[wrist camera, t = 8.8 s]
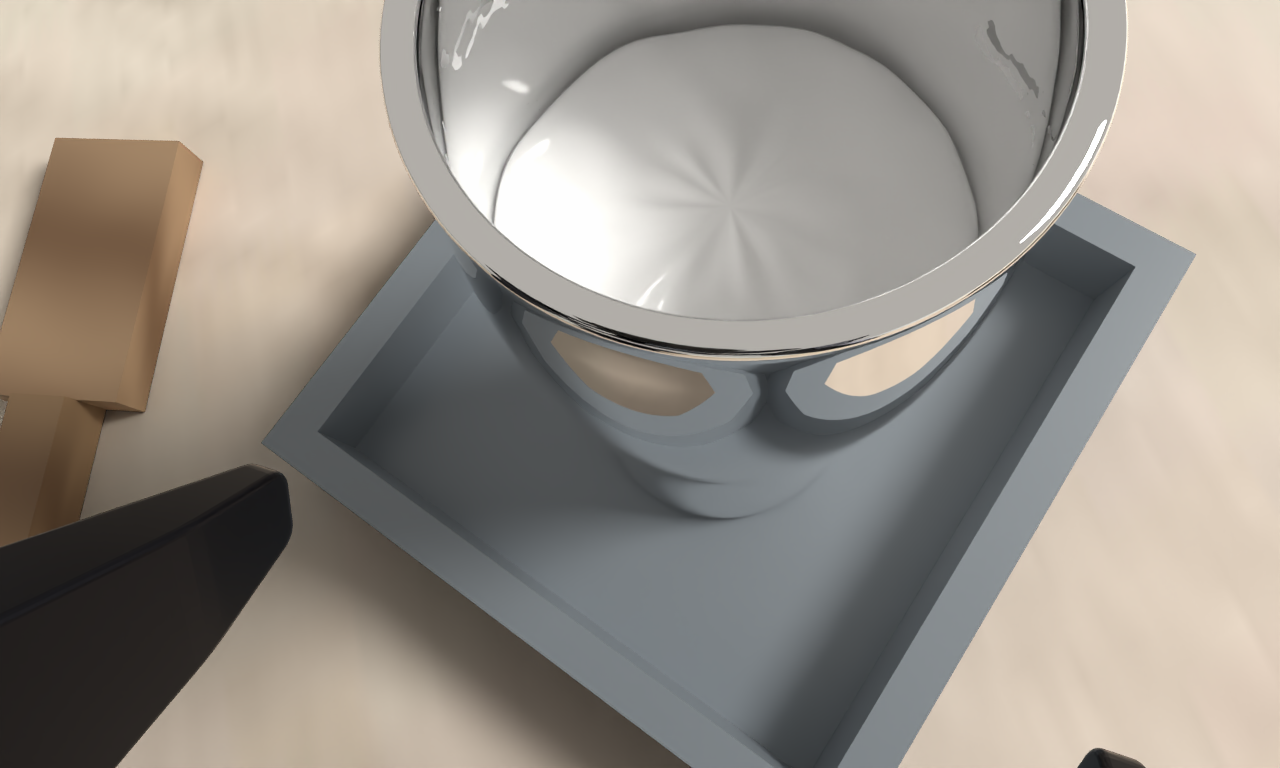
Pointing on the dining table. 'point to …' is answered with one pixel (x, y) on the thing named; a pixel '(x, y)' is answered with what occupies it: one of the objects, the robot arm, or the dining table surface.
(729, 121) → the silver metal cup
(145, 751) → the dining table surface
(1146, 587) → the dining table surface
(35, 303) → the scraper paddle
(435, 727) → the dining table surface
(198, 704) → the dining table surface
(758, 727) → the tray
